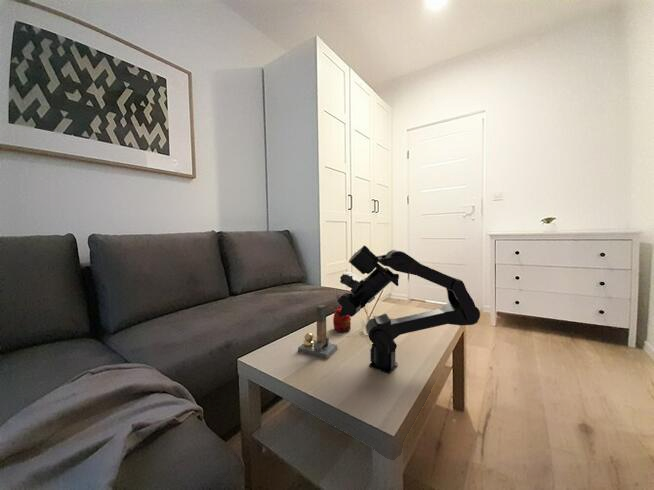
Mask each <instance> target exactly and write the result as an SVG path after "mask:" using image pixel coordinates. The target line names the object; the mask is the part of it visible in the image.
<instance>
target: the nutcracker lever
mask: <svg viewBox="0 0 654 490" xmlns="http://www.w3.org/2000/svg"><path fill="white" fill-rule="evenodd" d="M326 337H327V305H325V304H319V305H317V306H316V340H317V342H321V343H322V347H323V346H324V345H325V344H326Z"/></svg>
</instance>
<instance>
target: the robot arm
mask: <svg viewBox="0 0 654 490" xmlns="http://www.w3.org/2000/svg"><path fill="white" fill-rule="evenodd" d="M348 263H349V264H351V266H353V267H354V268H356V270H357V271H359V272H360V274H362V275H365V274H367V277H365V278H361V277H360V276H359V275H356V274H355V273H353V272H351V271H349V270H348V271H345V272H343V273H342V275H341V276H340V277H339V278H340V280H339V282H340V284H341V285H345V286H347V287H348V288H350V293H349V292H346V293H344V294H342V295H340V296H339V299H338V298H337V303H338V305H339V304H340V306H341V308H342V309H341V310H340V312H339V314H338V315H339V316H340V317H343V316H346V315H349V316H350V318H352V317H354V316H355V315H356V314H358V313H359V312H360V311H361V310H362V309H364V308H365V307H366V305H367V304H370V303H371V302H373V300H375V298H376V296H377V295H378V294H379V293H381V291H383V290H384V289H385V288H386V287H387V286H389V284H391V283H392V284H393V285H395V286H396V287H398V286H399V279H400V274H399V273H404V274H409V275H412V276H416V277H420V278H422V279H424V280H426V281H429V282H431V283H433V284H436V285H438V286H441V287H443V288H445V289H446V293H447V299H448V302H447V303H445V304H444V305H443V306H442V307H439V308H438V309H433V310H428V311H423V312H420V313H419V312H418V313H415V314H410V315H406V316H401V317H397V318H390V317H389V316H388V314H387V313H384V314H381V315H373V318H370V319H368V321H367V322H366V324H365V330H366V332H367V337H368V339H369V341H370V342H371V343H372V344H371V348H370V353H369V354H370V362H369V365H368V367H369V368H372V369H375V370H378V371H380V372H384V373H386V374H391V372H393V370H394V369H395V368H396V367H397V366H398V362H397V361H396V349H397V347H398V345H397V343H396V341H395V339H396V338H398V337H399V336H401V335H405V334H409V333H413V332H419V331H422V330H426V329H431V328H432V329H433V328H436V327H441V326H445V325H453V326H459V327H461V326H473V325H476V324H478V323H479V320H480V318H481V312H480V310H479V308H478V307H477V306H476V304H475V301H474V299H473V297H472V296H471V294H470V293H469V291H468V289H467V288H466V285H465V283H464V281H462V280H461V279H459V278H457V277H452V276H450V275H447V274H445V273H443V272H441V271H438V270H436V269H434V268H431V267H429V266H426V265H425V264H422V263H420V262H419V261H417V260H416V259H415V258H413V257H412V256H410V255H409V254H407V253H406V252H404V251H401V250H396V249H392V250H389V251H388V252H387V253H386V254H383V255H378V256H377V255H376V254H374V253H373V251H371V250H370V248H369V247H367V246H366V245H363V246H362V247H361V248H360V249H358V250H357V251H355V253H353V255H352V256H351V257H350V258H349V260H348ZM389 268H390V269H389ZM391 269H392V270H393V271H395V272H399V273H394V272H393V271H392V270H391Z"/></svg>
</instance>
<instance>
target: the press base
mask: <svg viewBox="0 0 654 490" xmlns="http://www.w3.org/2000/svg"><path fill="white" fill-rule="evenodd" d="M329 339H330V338H329V336H326V344H325V345H324V346H323V347H322V343H321V342H317V339H314V334H313V333H312V332H307V333H305V335H304V341H303V343H302V344H301V345H300V346H298V347H297V351H298V353H300V354H305V355H309V356H313V357H315V358H316V357H317V358H321V359H324V360H328V359H329V358H330V357H331V356H332V355H333V354H334V353H335V352H336V351H337V350H338V345H337V344H335V343H330V340H329Z"/></svg>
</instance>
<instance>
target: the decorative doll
mask: <svg viewBox="0 0 654 490" xmlns="http://www.w3.org/2000/svg"><path fill="white" fill-rule="evenodd" d="M340 297H341V294H338V293H336V296H333V299H334V300H336V299H337V300H338V299H339V298H340ZM341 309H342V306H341V305H340V304H339V303H338V308H337V309H336V310H335V311H334V313H333V319H332V320H333V321H332V323H333V328H334V330H335V331H336V332H338V333H342V332H347V331H351V328H352V327H351V324H352V322H351V321H352V317H350V316H349V315H346V316H343V317H340V316H339V315H338V314H339V312H340V310H341Z"/></svg>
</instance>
